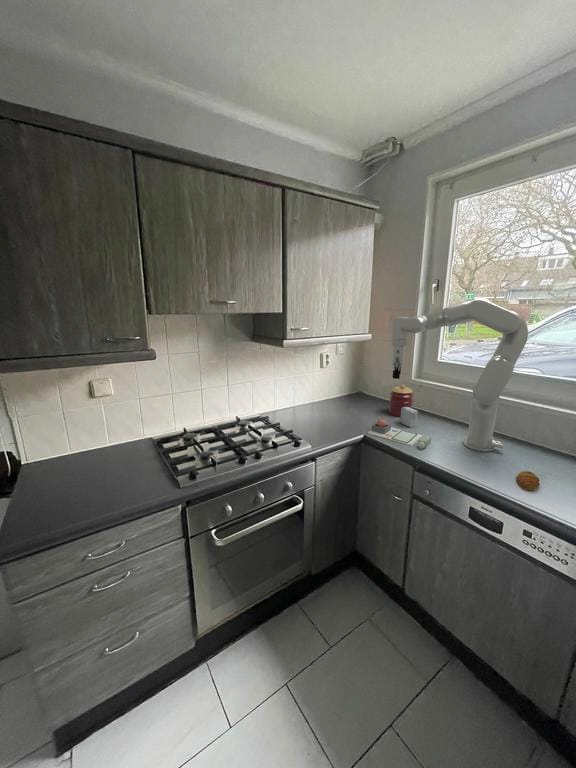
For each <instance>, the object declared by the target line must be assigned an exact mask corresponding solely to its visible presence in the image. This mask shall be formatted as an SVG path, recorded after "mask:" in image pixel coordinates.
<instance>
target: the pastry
mask: <svg viewBox="0 0 576 768" xmlns="http://www.w3.org/2000/svg"><path fill="white" fill-rule="evenodd" d="M515 479H516V482H517V484H518V486H519V487H520V488H521V489H522V490H526V491H527V490H528V491H532V492H533V491H535V490H536V489H538V487H540V485H541V484H540V478H539V477H538V476H537V475H536V474H535V473H534V472H532V471H529V470H526V471H520V472H519V473H518V474H517V475H516V477H515Z"/></svg>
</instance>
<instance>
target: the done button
mask: <svg viewBox="0 0 576 768" xmlns="http://www.w3.org/2000/svg"><path fill="white" fill-rule="evenodd" d="M376 423H377V426H379V427H383V428H385V427H386V424H387V420H386V419H383V418H379V419H377V421H376Z"/></svg>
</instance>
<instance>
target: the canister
mask: <svg viewBox="0 0 576 768" xmlns="http://www.w3.org/2000/svg"><path fill="white" fill-rule="evenodd" d="M389 394H390V397H389V406H388V412H389V414H390V415H392V416H395V417H400V418H401V408H403V407H409V408H412V409H413V404H414V399H413V397H414V396H415V395H414V393H413V389H411V388H410V387H407V386H406V385H405V384H403V383H402V384H400V386H395V387H393V388H392V389H391V392H389Z"/></svg>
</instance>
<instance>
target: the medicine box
mask: <svg viewBox="0 0 576 768" xmlns="http://www.w3.org/2000/svg"><path fill="white" fill-rule="evenodd" d="M418 413H419V411H418V410H417V409H414V408H413V407H412V408H409V407H403V408H401V417H400V421H399V422H400V424H403V425H405V426H407V427H408V428H414V427H417V425H418Z"/></svg>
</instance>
